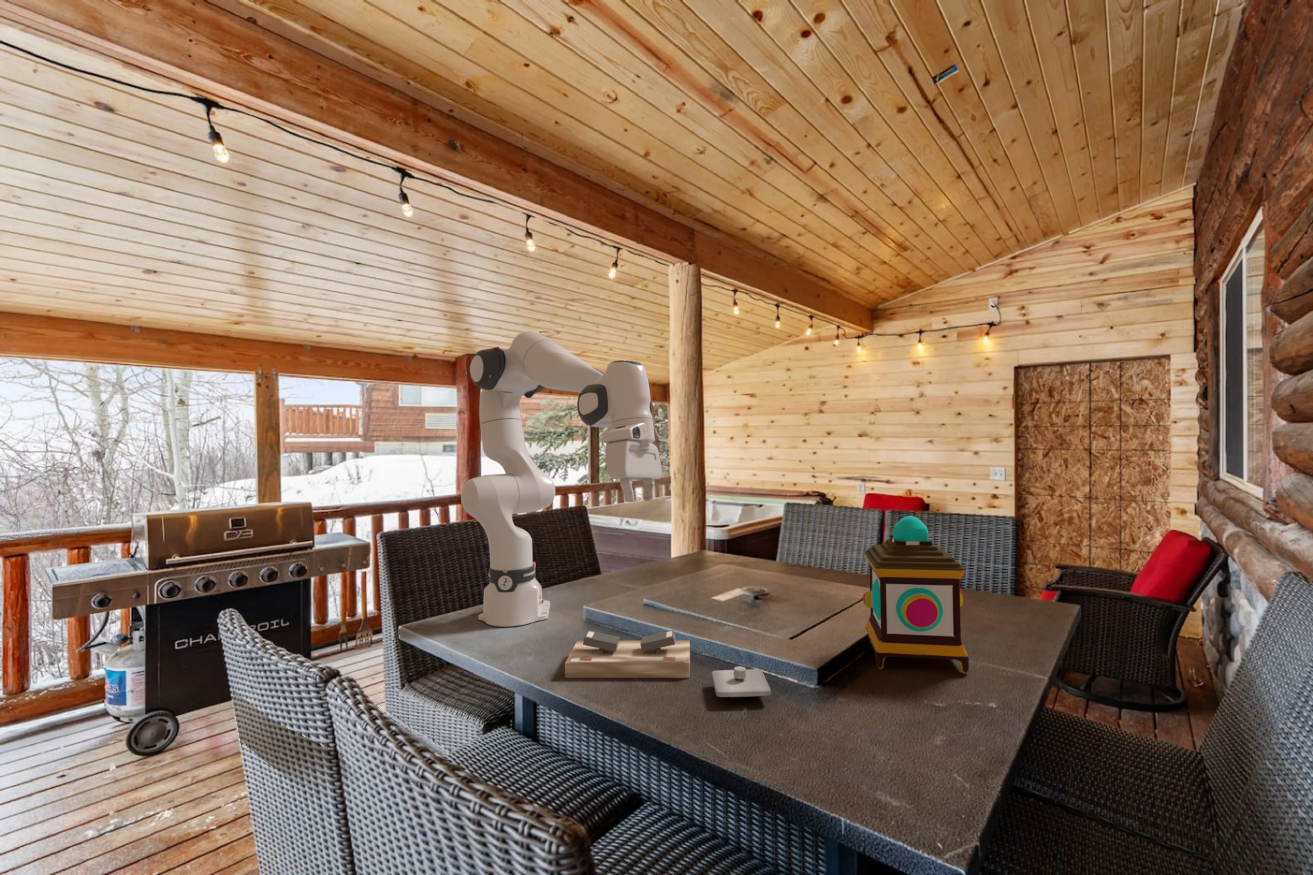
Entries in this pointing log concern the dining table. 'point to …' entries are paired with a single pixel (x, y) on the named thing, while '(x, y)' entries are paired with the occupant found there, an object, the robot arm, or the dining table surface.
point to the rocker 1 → (601, 640)
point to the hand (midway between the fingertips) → (639, 501)
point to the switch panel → (629, 661)
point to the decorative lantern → (914, 598)
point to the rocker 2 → (658, 640)
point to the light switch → (740, 683)
